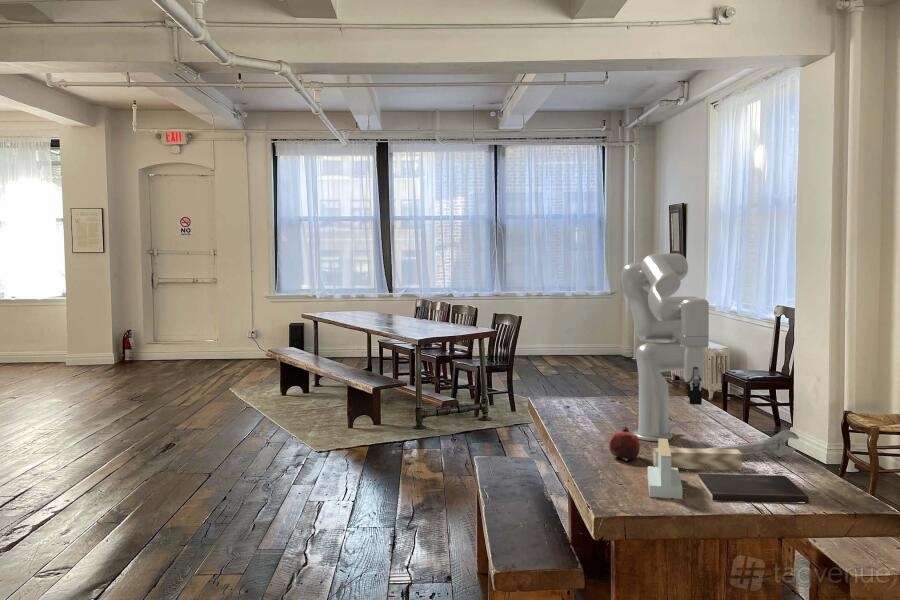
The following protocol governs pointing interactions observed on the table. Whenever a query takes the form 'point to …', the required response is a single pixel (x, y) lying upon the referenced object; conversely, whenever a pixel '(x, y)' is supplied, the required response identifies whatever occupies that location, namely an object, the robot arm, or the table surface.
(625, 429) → the fruit
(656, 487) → the ridge stand
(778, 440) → the wrench
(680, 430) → the table surface
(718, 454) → the birch bar
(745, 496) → the hardcover book
